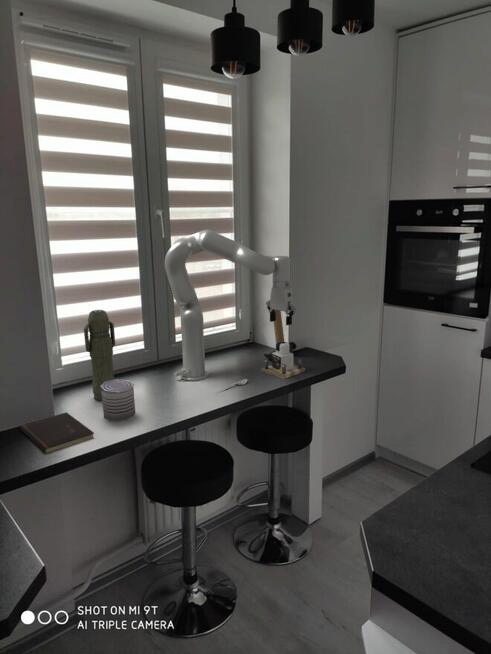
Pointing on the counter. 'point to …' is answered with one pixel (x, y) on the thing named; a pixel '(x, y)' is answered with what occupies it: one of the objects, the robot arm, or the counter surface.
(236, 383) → the spoon
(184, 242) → the robot arm
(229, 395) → the counter surface
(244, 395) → the counter surface
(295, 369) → the peg stand
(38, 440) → the hardcover book
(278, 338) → the hammer
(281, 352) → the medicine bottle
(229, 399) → the counter surface
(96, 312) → the dark green tall piece
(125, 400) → the can
